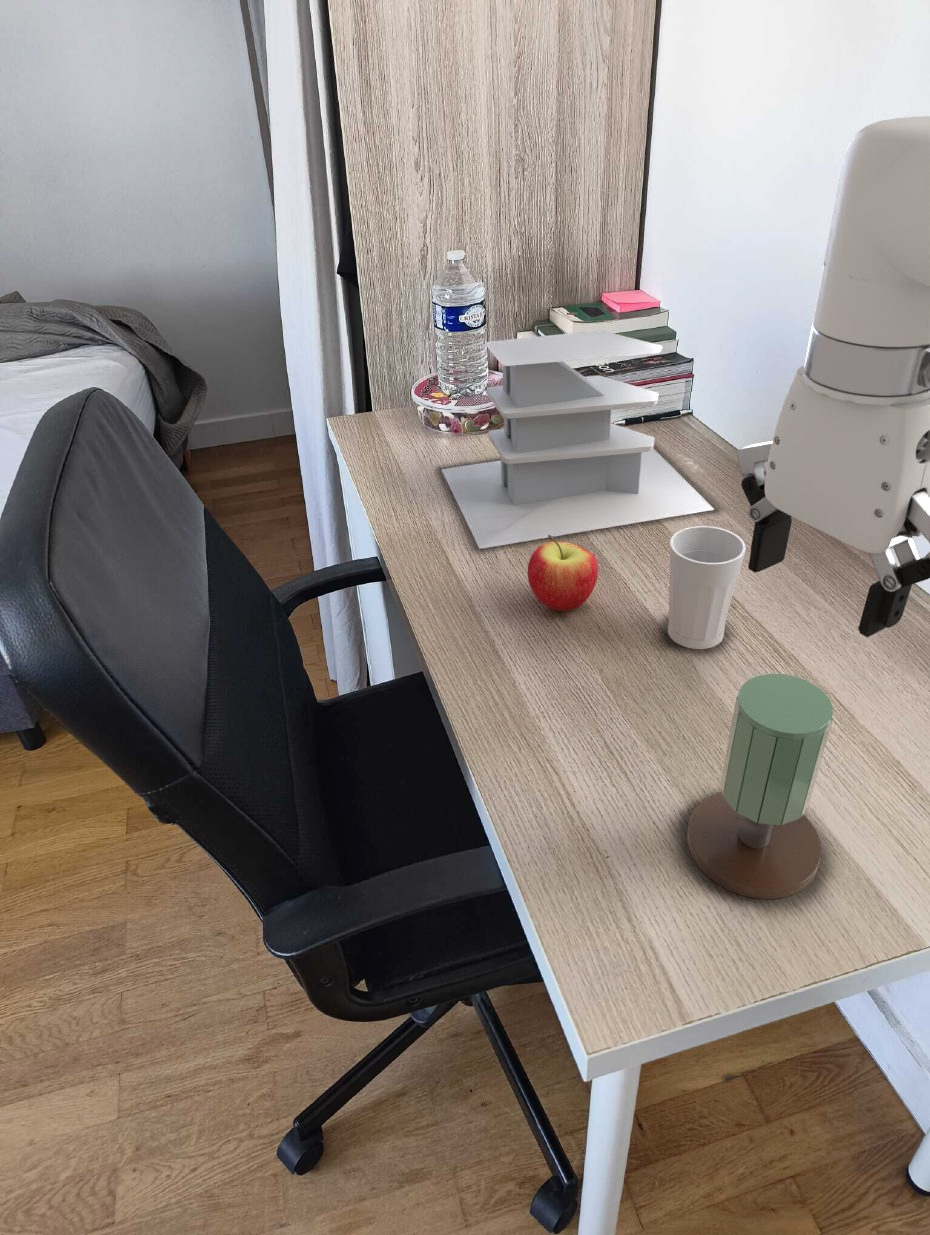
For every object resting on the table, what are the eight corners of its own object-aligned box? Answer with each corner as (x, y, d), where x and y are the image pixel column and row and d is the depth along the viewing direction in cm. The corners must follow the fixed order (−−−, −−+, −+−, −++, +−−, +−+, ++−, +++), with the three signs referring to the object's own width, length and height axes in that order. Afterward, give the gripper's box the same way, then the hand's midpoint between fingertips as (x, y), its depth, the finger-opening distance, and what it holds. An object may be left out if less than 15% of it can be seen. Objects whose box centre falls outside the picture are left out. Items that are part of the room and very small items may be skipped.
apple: (524, 587, 108) (523, 518, 102) (589, 582, 108) (593, 513, 102) (532, 625, 101) (531, 554, 95) (602, 620, 101) (606, 549, 95)
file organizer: (441, 469, 136) (431, 334, 123) (643, 438, 142) (654, 306, 129) (479, 548, 116) (472, 397, 103) (714, 509, 121) (735, 360, 108)
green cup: (820, 785, 70) (846, 695, 64) (788, 838, 66) (812, 746, 60) (742, 751, 73) (760, 662, 67) (707, 798, 69) (722, 708, 63)
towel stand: (838, 835, 74) (882, 697, 64) (788, 923, 67) (829, 783, 58) (721, 779, 80) (745, 645, 70) (664, 855, 73) (683, 718, 64)
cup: (738, 652, 95) (754, 562, 88) (666, 654, 95) (677, 565, 88) (722, 611, 101) (735, 524, 94) (655, 613, 102) (664, 527, 95)
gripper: (1057, 385, 45) (963, 636, 55) (800, 314, 58) (762, 530, 68) (971, 419, 42) (889, 678, 53) (720, 337, 55) (693, 559, 65)
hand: (818, 595), depth 60 cm, fingers open, 9 cm apart
